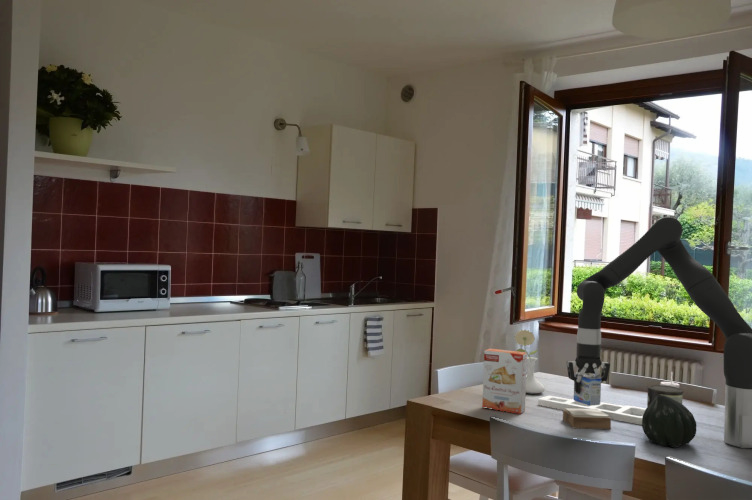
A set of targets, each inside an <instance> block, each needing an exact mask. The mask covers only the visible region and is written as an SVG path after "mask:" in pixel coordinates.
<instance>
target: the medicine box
mask: <svg viewBox="0 0 752 500" xmlns="http://www.w3.org/2000/svg"><path fill="white" fill-rule="evenodd" d="M601 391H602V382H601V379H600V378H596V377H594V376H593V375H588V374H586V373H584V375H583V377H582V378H581V380H580V394H577V393H576V391H574V390H573V399H574V401H577V402H580V403H583V404H587V405H590V406H592V405H600V402H601V395H602V394H601Z"/></svg>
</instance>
